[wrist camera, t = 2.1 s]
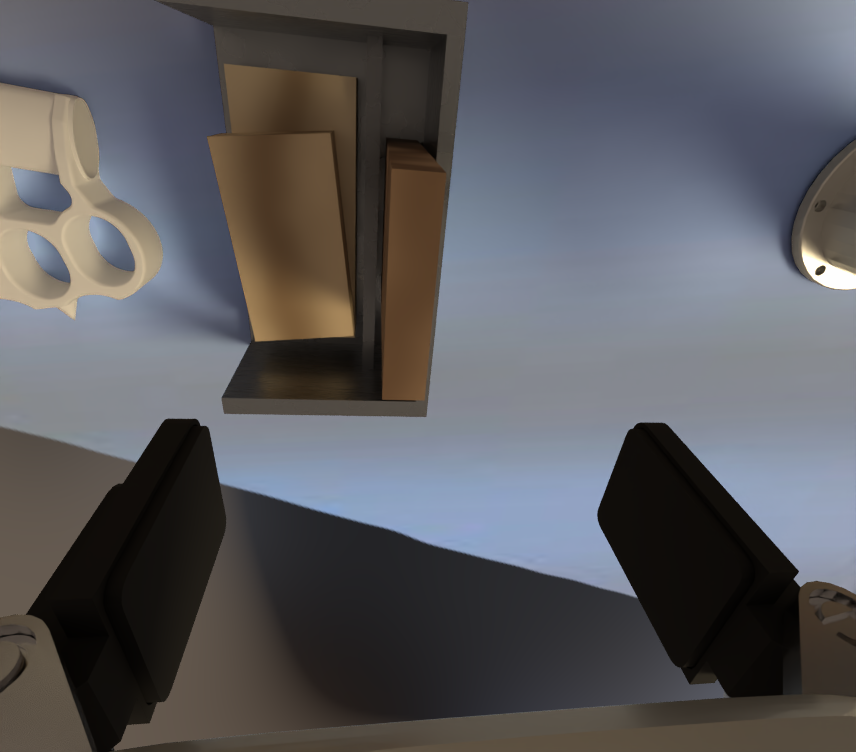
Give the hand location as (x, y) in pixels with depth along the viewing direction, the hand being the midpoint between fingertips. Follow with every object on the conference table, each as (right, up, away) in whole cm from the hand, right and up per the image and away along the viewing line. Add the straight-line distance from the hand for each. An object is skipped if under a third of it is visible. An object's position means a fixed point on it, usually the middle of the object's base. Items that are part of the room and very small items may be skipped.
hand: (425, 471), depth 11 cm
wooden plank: (-2, +13, +22) cm, 25 cm away
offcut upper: (-8, +11, +19) cm, 24 cm away
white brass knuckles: (-27, +14, +21) cm, 37 cm away
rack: (-6, +14, +22) cm, 27 cm away
